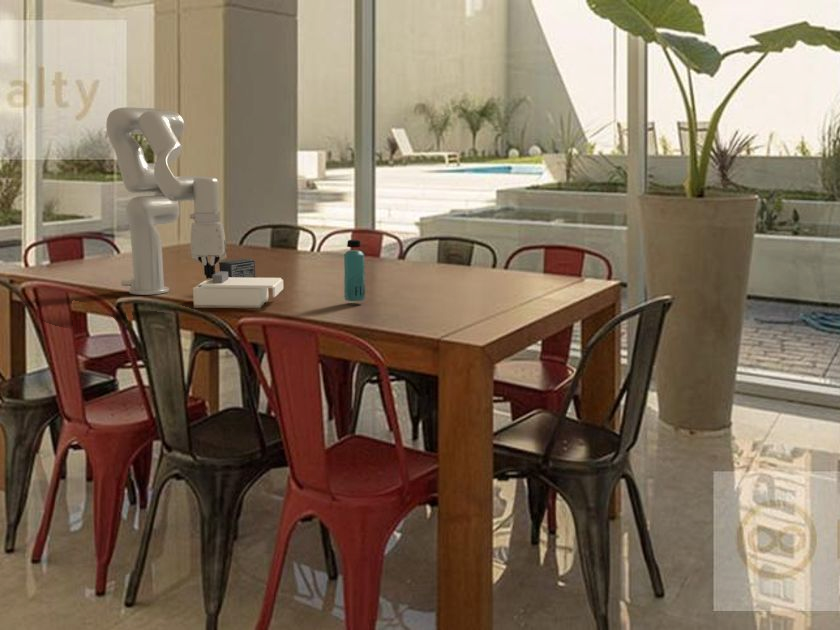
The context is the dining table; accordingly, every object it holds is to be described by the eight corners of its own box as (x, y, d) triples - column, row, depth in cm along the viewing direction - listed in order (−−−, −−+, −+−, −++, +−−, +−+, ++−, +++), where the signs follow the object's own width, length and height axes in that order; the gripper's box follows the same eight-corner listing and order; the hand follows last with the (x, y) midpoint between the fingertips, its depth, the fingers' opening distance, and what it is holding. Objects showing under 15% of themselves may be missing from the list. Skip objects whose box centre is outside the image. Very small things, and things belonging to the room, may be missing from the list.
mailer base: (193, 307, 269) (193, 287, 268) (205, 299, 283) (205, 280, 282) (259, 308, 269) (259, 288, 268) (268, 299, 283) (267, 281, 281)
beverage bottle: (354, 306, 272) (354, 241, 268) (339, 304, 276) (338, 239, 272) (369, 303, 276) (369, 239, 272) (354, 301, 281) (354, 238, 277)
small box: (244, 288, 304) (243, 257, 302) (256, 290, 300) (255, 259, 298) (219, 292, 296) (218, 261, 294) (232, 294, 292) (230, 263, 289)
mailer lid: (203, 296, 268) (202, 277, 267) (215, 288, 283) (214, 269, 282) (274, 297, 268) (274, 277, 266) (283, 288, 282) (282, 270, 281)
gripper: (179, 219, 267) (182, 279, 271) (228, 219, 267) (231, 279, 271) (186, 217, 275) (189, 275, 278) (234, 217, 274) (237, 276, 278)
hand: (210, 277), depth 274 cm, fingers closed
